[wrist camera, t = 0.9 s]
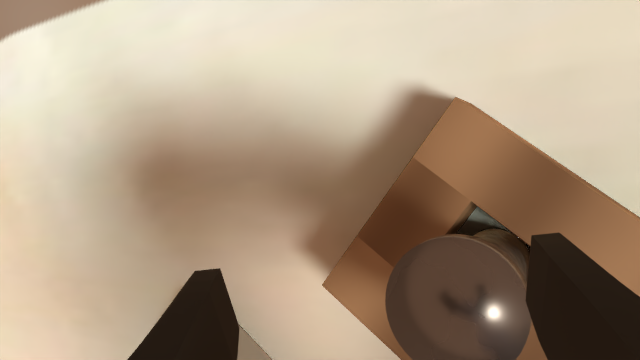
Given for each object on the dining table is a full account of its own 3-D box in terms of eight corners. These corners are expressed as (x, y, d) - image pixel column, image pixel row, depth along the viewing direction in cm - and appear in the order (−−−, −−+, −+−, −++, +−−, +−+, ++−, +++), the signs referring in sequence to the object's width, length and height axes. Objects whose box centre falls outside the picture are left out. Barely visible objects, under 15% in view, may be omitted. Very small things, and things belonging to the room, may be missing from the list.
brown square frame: (689, 251, 20) (705, 266, 17) (519, 425, 23) (509, 461, 20) (471, 103, 23) (455, 96, 20) (349, 272, 26) (321, 285, 23)
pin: (573, 258, 21) (564, 306, 15) (505, 334, 23) (468, 411, 16) (484, 192, 23) (438, 208, 16) (426, 267, 24) (360, 311, 17)
